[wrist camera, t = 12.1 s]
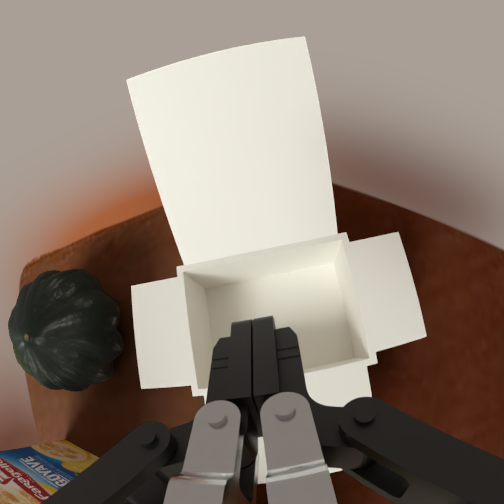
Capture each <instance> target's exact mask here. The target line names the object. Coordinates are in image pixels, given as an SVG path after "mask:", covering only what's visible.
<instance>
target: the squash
mask: <svg viewBox="0 0 504 504" xmlns="http://www.w3.org/2000/svg"><path fill="white" fill-rule="evenodd" d="M119 320H120V309H119V306H118V304H117V303H116V302H115V301H114V300H113V299H112V298H110V297H109V296H107V295H106V294H104V292H103V289H102V287H101V285H100V283H99V282H98V280H97V279H96V277H94V276H93V275H92V274H90V273H88V272H87V271H85V270H81V269H72V270H66V271H63V272H60V271H56V270H54V271H46V272H43V273H41V274H40V275H39V276H38V277H37V278H36V279H35V280H34V281H33V282H30V283H28V284H26V285H24V287H23V288H22V289H21V291H20V293H19V296H18V299H17V303H16V305H15V307H14V309H13V310H12V313H11V316H10V318H9V322H8V329H9V335H10V338H11V341H12V343H13V349H14V353H15V356H16V359H17V361H18V363H19V364H20V365H21V367H22V368H23V369H24V370H25V371H26V372H27V373H28V374H30V375H31V376H33V377H34V378H35V379H36V380H37V381H38V382H39V383H40V384H42V385H43V386H45V387H47V388H50V389H55V390H59V389H65V390H69V391H83V390H85V389H86V388H88V387H89V385H90V384H97V383H101V382H104V381H106V380H107V379H109V378H111V376H112V375H113V373H114V361H113V360H114V359H116V358H117V357H118V356H119V355H120V354H121V353H122V351H123V349H124V342H123V339H122V337H121V335H120V333H119V331H118V330H117V326H118V323H119Z"/></svg>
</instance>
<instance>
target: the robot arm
mask: <svg viewBox="0 0 504 504" xmlns="http://www.w3.org/2000/svg"><path fill="white" fill-rule="evenodd" d="M210 369H211V371H210V375H209V383H208V390H207V398H206V405H204V406H203V407H202V408H201V409H199V411H198V412H197V414H196V415H195V418H194V420H193V421H191V422H189V423H186V424H183V425H180V426H177V427H174V428H170V429H168V428H167V427H166V426H165V425H163V424H162V423H159V422H146V423H143V424H141V425H139V426H138V427H136V428H135V429H134V430H133V431H132V432H130V433H129V434H128V435H127V436H126V437H124V438H123V439H122V440H121V441H120V442H118V443H117V444H116V445H115V446H114V447H112V448H111V449H110V450H109V451H107V452H106V453H105V454H104V455H103V456H101V457H100V458H99V459H98V460H96V461H95V462H94V463H93V464H91V465H90V466H89V467H88V468H86V469H85V470H84V471H83V472H81V473H80V474H79V475H77V476H76V477H75V478H74V479H72V480H71V481H70V482H68V483H67V484H66V485H64V486H63V487H62V488H60V489H59V490H58V491H56V492H55V493H54V494H52V495H51V496H50V497H48V498H47V499H46V500H44V501H43V502H42V503H40V504H256V497H257V484H258V471H259V452H258V437H263V441H264V448H265V456H266V464H267V475H266V489H267V497H268V504H337V500H336V496H335V493H334V489H333V485H332V481H331V477H330V474H329V470H328V467H329V468H341V469H342V470H343V471H344V472H346V473H347V474H349V475H350V476H352V477H353V478H355V479H356V480H358V481H359V482H361V483H362V484H364V485H365V486H367V487H369V488H370V489H372V490H373V491H375V492H377V493H378V494H380V495H381V496H383V497H385V498H386V499H388V500H390V501H391V502H393V503H395V504H504V459H502V458H500V457H498V456H495V455H493V454H490V453H488V452H486V451H484V450H481V449H479V448H477V447H475V446H472V445H470V444H468V443H466V442H463V441H461V440H459V439H457V438H455V437H453V436H451V435H448V434H446V433H444V432H442V431H440V430H438V429H436V428H434V427H432V426H430V425H428V424H426V423H424V422H422V421H420V420H418V419H416V418H414V417H412V416H410V415H408V414H406V413H404V412H402V411H400V410H398V409H396V408H394V407H392V406H390V405H389V404H387V403H385V402H383V401H381V400H379V399H377V398H373V397H359V398H356V399H353V400H351V401H350V402H348V403H347V404H346V405H345V406H344V407H335V406H325V405H322V404H319V403H317V402H316V401H314V400H313V399H312V398H311V397H310V396H309V394H308V392H307V388H306V383H305V377H304V371H303V365H302V360H301V354H300V349H299V343H298V338H297V334H296V333H295V332H294V331H293V330H292V329H291V328H290V327H285V328H279V329H276V326H275V322H274V318H273V315H272V316H267V317H261V318H255V319H253V321H252V319H250V320H244V321H237V322H232V324H231V334H230V337H224V338H220V339H219V340H218V342H217V343H216V345H215V346H214V348H213V353H212V362H211V367H210Z"/></svg>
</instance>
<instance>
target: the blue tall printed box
mask: <svg viewBox="0 0 504 504" xmlns="http://www.w3.org/2000/svg"><path fill="white" fill-rule="evenodd" d="M98 459H99V457H97V456H95V455H93V454H91V453H89V452H87V451H85V450H83V449H81V448H79V447H78V446H76V445H74V444H72V443H70V442H69V441H67V440H65V439H64V440H60V441H55V442H51V443H46V444H41V445H36V446H31V447H25V448H19V449H13V450H6V451H0V504H40V503H42V502H43V501H44V500H46V499H47V498H48V497H50V496H51V495H52V494H54V493H55V492H56V491H58V490H59V489H60V488H62V487H63V486H64V485H66V484H67V483H68V482H70V481H71V480H72V479H74V478H75V477H76V476H77V475H79V474H80V473H81V472H83V471H84V470H85V469H86V468H88V467H89V466H90V465H91V464H93V463H94V462H95V461H96V460H98Z"/></svg>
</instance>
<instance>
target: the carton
mask: <svg viewBox="0 0 504 504" xmlns="http://www.w3.org/2000/svg"><path fill="white" fill-rule="evenodd" d="M131 295H132V310H133V323H134V334H135V344H136V353H137V362H138V370H139V377H140V384H141V389H149V388H166V387H179V386H191V388H192V394H193V396H203V395H204V400H205V405H206V398H207V390H208V383H209V375H210V371H211V369H210V367H211V362H212V353H213V348H214V346H215V345H216V343H217V342H218V340H219V339H220V338H224V337H230V334H231V324H232V322H237V321H244V320H250V319H252V321H253V319H255V318H261V317H267V316H272V315H273V318H274V322H275V326H276V329H279V328H285V327H290V328H291V329H292V330H293V331H294V332H295V333H296V334H297V338H298V343H299V349H300V354H301V360H302V365H303V371H304V377H305V383H306V388H307V392H308V394H309V396H310V397H311V398H312V399H313V400H314V401H316V402H317V403H319V404H322V405H325V406H335V407H344V406H345V405H346V404H347V403H348V402H350V401H351V400H353V399H356V398H359V397H372V394H371V388H370V382H369V376H368V370H367V366H369V365H373V364H376V363H378V362H377V356H376V352H377V351H381V350H384V349H388V348H391V347H395V346H398V345H401V344H405V343H408V342H411V341H414V340H417V339H421V338H424V337H427V336H426V331H425V326H424V322H423V317H422V313H421V309H420V305H419V301H418V297H417V293H416V289H415V285H414V282H413V278H412V274H411V271H410V267H409V264H408V261H407V257H406V254H405V251H404V248H403V245H402V241H401V238H400V235H399V232H395V233H390V234H385V235H381V236H376V237H371V238H367V239H362V240H357V241H352V242H349V239H348V236H347V232H344V233H339V234H336V235H331V236H326V237H321V238H316V239H312V240H307V241H302V242H297V243H292V244H287V245H282V246H277V247H272V248H267V249H263V250H258V251H253V252H248V253H243V254H238V255H233V256H228V257H223V258H219V259H214V260H209V261H204V262H199V263H194V264H189V265H183V266H178V267H177V277H175V278H169V279H164V280H159V281H154V282H149V283H144V284H138V285H133V286H131ZM258 452H259V471H258V484H263V483H266V475H267V464H266V456H265V448H264V441H263V437H258ZM328 470H329V473H333V472H337V471H342V469H341V468H329V467H328Z"/></svg>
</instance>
